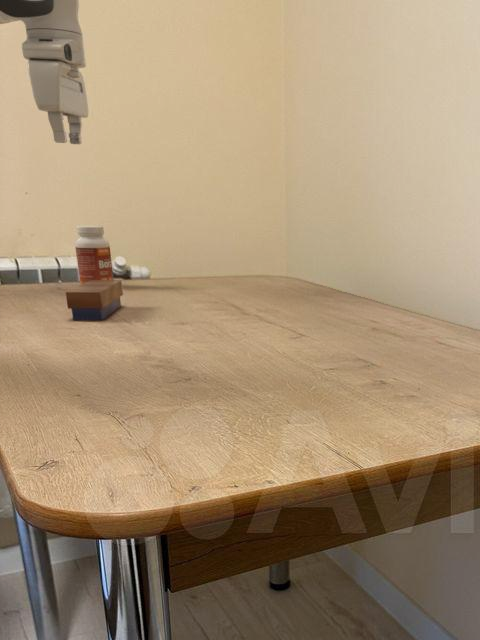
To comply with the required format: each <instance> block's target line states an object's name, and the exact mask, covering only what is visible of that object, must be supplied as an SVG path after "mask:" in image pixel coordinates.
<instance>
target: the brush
mask: <svg viewBox="0 0 480 640" xmlns="http://www.w3.org/2000/svg"><path fill="white" fill-rule="evenodd" d="M122 283H123V282H122V280H121V279H114V280H89V281H87V282H85V283H83V284H81V285H80V284H79V285H77V286H75V287H73V288H71V289H69V290H67V291H65V297H66V298H65V299H66V304H67V309H69V310H70V309H71V314H72V315H71V316H72V321H103V320H105V319H106V318H108V317H109V316H110V315H111V314H113V313H114V312H116V311H117V310H119V308H121V307H122V302H121V297H123V295H124V294H123V293H124V292H123V285H122Z"/></svg>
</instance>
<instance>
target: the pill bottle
mask: <svg viewBox="0 0 480 640" xmlns="http://www.w3.org/2000/svg"><path fill="white" fill-rule="evenodd" d="M76 232H77V235H78V236H79V238H78V239H76V240H75V242H74V246H75V254H76V262H77V269H78V277H79V285H81V284H83V283H85V282H87V281H89V280H115V279H114V272H113V264H112V263H113V262H112V255H111V247H110V242H109V241H108V239H106V238H104V235H105V229H104V226H103V225H102V226H101V225H77V226H76Z"/></svg>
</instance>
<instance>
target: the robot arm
mask: <svg viewBox="0 0 480 640" xmlns="http://www.w3.org/2000/svg"><path fill="white" fill-rule="evenodd" d="M79 10H80V2H79V0H0V25H4V24H9V23H13V22H18V21H21V22H22V23H23V24H24V26H25V34H26V40H24V41H23V42H22V44H21V51H22V56H23V58H24V59H25V60H27V69H28V75H29V81H30V86H31V90H32V95H33V99H34V103H35V105H36V107H37V109H38V111H42V112H46V113H47V119H48V122H49V125H50V127H51V131H52V135H53V141H54V142H55V143H57V144H66V143H67V142H68V140H69V143H70V144H71V145H81V144H82V142H83V141H82V126H83V123H82V119H84V118H85V119H86V118H88V117H89V103H88V97H87V90H86V86H85V80H84V76H83V74H82V72H81V71H80V70H79V69H85V68H86V67H87V64H86V63H87V62H86V54H85V47H84V46H85V45H84V37H83V31H82V28H81V26H80V21H79ZM64 117H66V118H67V123H68V131H69V133H68V134H67V131H65V125H64V121H65V120H64ZM67 135H68V136H67Z"/></svg>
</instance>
